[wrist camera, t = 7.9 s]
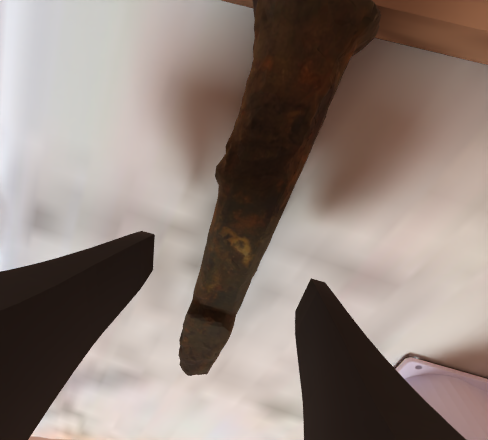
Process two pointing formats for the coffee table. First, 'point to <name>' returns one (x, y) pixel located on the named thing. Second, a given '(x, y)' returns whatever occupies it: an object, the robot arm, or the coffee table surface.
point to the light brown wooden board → (433, 25)
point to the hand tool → (269, 152)
